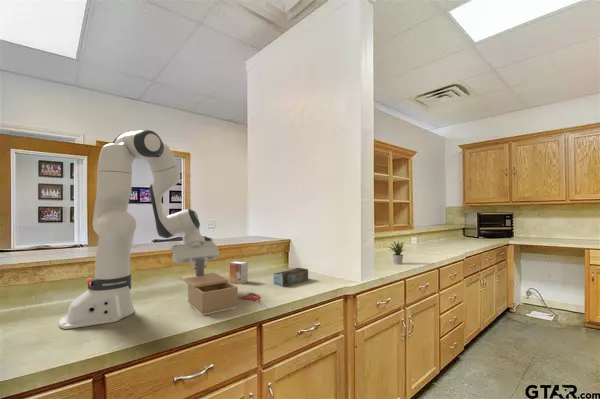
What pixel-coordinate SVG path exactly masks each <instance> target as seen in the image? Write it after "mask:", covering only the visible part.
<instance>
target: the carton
mask: <svg viewBox="0 0 600 399" xmlns="http://www.w3.org/2000/svg"><path fill="white" fill-rule="evenodd" d="M187 291H188V292H187V294H188V295H187V302H188V304H189V305H190V306H191V307H193V308H194V310H196V311H197V312H198V313H199V314H200V315H201V316H205V315H210V314H213V313H218V312H222V311H224V312H225V311H227V310H228V311H229V310H232V309H237V308H239V306H238V300H239V299H238V295H239V294H238V293H239V290H238V286H236V285H234V284H233V283H231V282H226V283H220V284H214V285H207V286H201V287H195V288H193V287H192V286H190V285H189V284H188V283H187Z"/></svg>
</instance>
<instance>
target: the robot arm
mask: <svg viewBox="0 0 600 399" xmlns="http://www.w3.org/2000/svg"><path fill="white" fill-rule="evenodd" d="M135 159H136V160H141V159H144V160H146V161H147V164H148V165H149V169H150V171H151V174H152V178H153V179H152V183H151V184H150V185H149V194H150V195H149V196H150V200H151V201H150V202H151V206H152V211H153V215H154V216H153V217H154V221H155V222H154V223H155V231H156V233H157V235H158V236H159V237H161V238H164V239H169V238H172V237H174V236H176V235H179V234H180V236H181V237H182V243H181V244H174V245H173V246H171V249H170V250H171V253H173V254H172V255H173V257H172V258H173V262H174V263H175V264H176V265H177V264H184V263H188V264H189V265H190V266H191V267H192V270H196V269H197V264H196V260H201V259H203V260H204V269H205V268H207V267H208V264H207V263H208V261H211V260H218V258H219V255H220V251H219V248H218V247H217V244H216V243H214V239H213V238H212V237H208V236H203V235H202V234H201V229H200V227H201V224H200V223H201V222H200V220H199V216H198V214H197V212H196V211H194V210H193V209H191V208H187V209H183V210H180V211H178V212H175V213H171V214H168V215H165V212H164V205H163V203H162V198H163V196H164V195H165V194H166V193H167V192H169V191H170V190H172V188H174V187H176V185H178V183H179V181H180V179H181V170H180V167H179V164H178V162H177V159H176V157H175V155H174V154H173V152H172V150H171V149H170V147H169V145H168V144H167V143H164V142H163V141H162V138H161V137H160V136H159V135H158V134H157V133H156V132H155V131H154V130H150V129H141V130H132V131H128V132H127V131H126V132H124V133H120V134H118V135H117V136H116V137H115V138H114V139H113V141H112V142H111V143H107V144H105V145H103V146H102V147H101V149H100V152H99V157H98V161H97V162H98V163H97V175H96V176H97V177H96V195H95V201H94V207H93V216H92V228H93V231H94V232H95V234H96V235H97V236H98V242H97V249H96V254H95V258H94V259H95V260H94V262H95V264H94V265H95V266H94V270H95V273H94V278H91V277H89V278H87V279H86V284H87V290H86V291H84V292H83V293H82V294H80V295H79V296H77V297H76V298H75V299H73V301H71V303H70V304H69V307H68V310H67V314H66V315H64V316H62V317H61V318H60V319H59V323H58V326H59V328H61V329H64V330H68V329H76V328H81V327H89V326H95V325H102V324H110V323H115V322H119V321H120V320H121V319H123V318H125V317H128V316H130V315H132V314H134V312H135V308H134V305H133V299H132V292H131V290H132V286H133V285H132V284H133V283H132V281H133V280H132V274H131V252H132V248H133V247H132V246H133V243H134V235H135V231H136V229H137V221H136V219H135V217H134V216H133V215H132V214H131V213H130V212H129V211H128V208H129V202H130V199H131V195H132V185H133V184H132V179H133V178H132V177H133V174H132V173H133V168H132V167H133V162H134V160H135Z"/></svg>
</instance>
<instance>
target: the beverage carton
mask: <svg viewBox="0 0 600 399" xmlns="http://www.w3.org/2000/svg"><path fill="white" fill-rule="evenodd" d="M306 281H309V269H308V268H302V267H296V268H293V269H287V270H285V271H283V270H282V271H279V272H274V273H273V285H275V286H279V287H283V288H285V287H288V286H292V285H296V284H300V283H303V282H306Z"/></svg>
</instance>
